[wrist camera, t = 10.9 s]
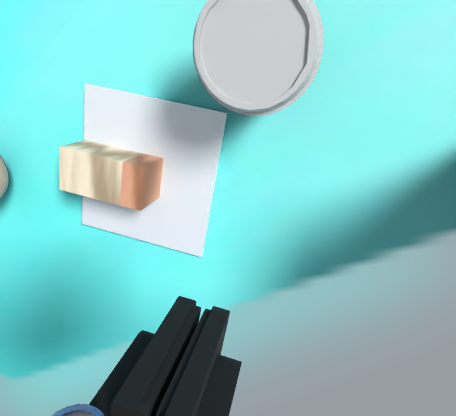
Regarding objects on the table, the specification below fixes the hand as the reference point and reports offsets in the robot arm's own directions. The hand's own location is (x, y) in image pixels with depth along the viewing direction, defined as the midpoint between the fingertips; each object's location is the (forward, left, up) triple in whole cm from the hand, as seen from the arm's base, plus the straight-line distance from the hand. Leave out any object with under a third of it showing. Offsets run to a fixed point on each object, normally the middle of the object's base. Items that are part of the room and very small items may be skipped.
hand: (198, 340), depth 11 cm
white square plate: (+15, +5, -29) cm, 33 cm away
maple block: (+13, +5, -26) cm, 29 cm away
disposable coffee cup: (+3, -10, -29) cm, 31 cm away
